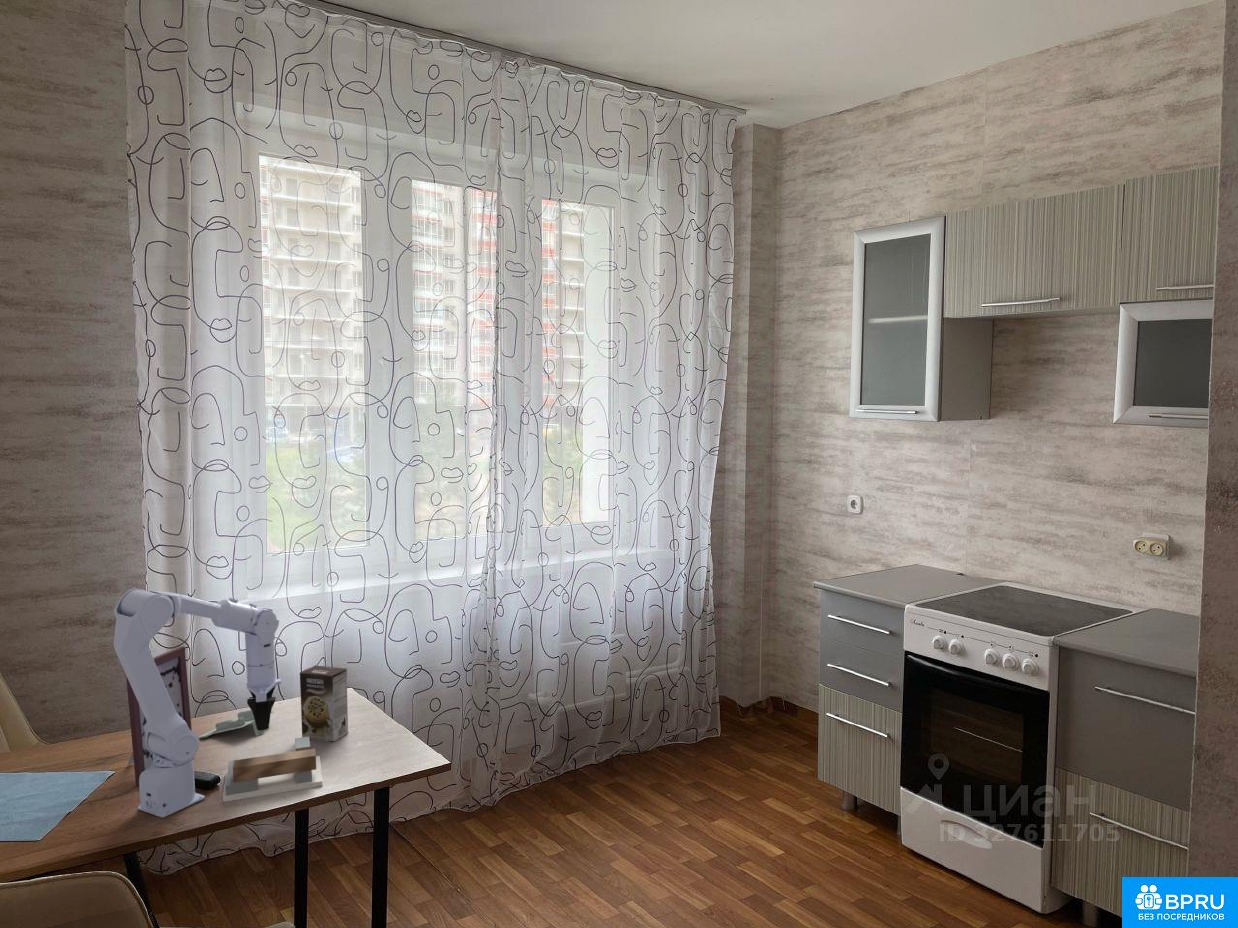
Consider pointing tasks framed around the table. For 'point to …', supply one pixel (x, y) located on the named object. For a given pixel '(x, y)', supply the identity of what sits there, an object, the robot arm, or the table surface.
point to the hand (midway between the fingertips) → (263, 723)
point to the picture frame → (177, 688)
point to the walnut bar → (274, 765)
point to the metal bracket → (235, 724)
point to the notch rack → (273, 780)
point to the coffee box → (324, 702)
